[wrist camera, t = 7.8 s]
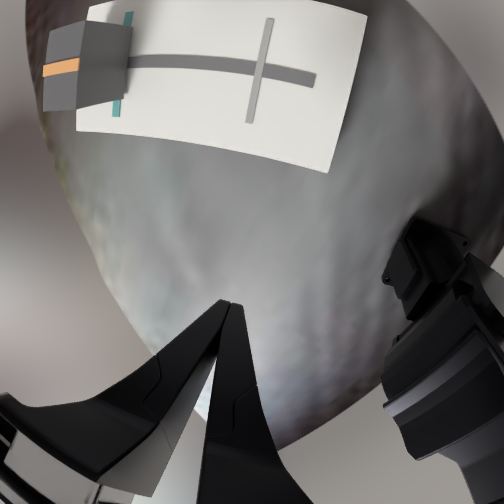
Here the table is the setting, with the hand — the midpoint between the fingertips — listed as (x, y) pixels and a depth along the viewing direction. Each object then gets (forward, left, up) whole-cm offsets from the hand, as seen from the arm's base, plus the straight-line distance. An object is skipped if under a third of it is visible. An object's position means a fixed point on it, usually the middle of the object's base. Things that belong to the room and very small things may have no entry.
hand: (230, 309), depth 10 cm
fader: (+12, -8, -9) cm, 17 cm away
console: (+6, -8, -12) cm, 16 cm away
